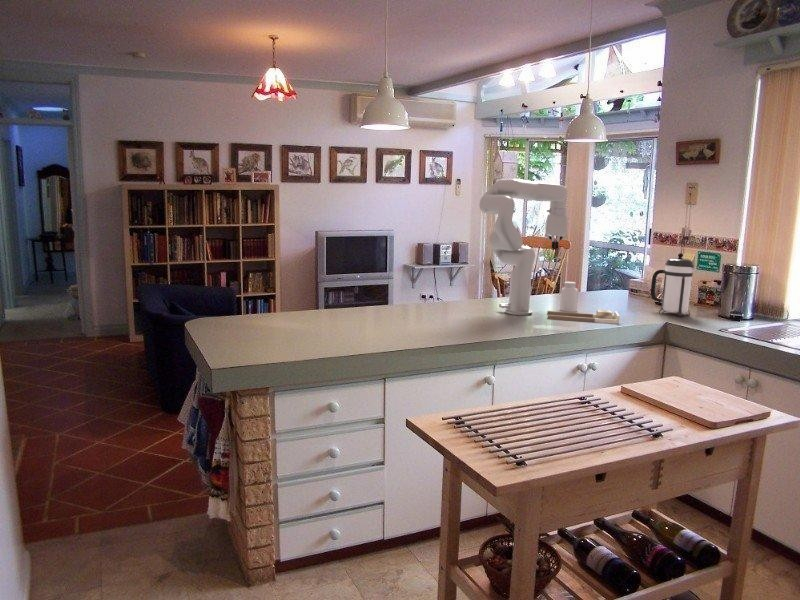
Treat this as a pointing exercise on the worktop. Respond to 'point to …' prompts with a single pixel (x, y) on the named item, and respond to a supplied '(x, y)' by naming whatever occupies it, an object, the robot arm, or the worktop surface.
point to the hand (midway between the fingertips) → (554, 249)
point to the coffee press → (675, 285)
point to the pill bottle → (569, 297)
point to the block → (604, 314)
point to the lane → (582, 317)
